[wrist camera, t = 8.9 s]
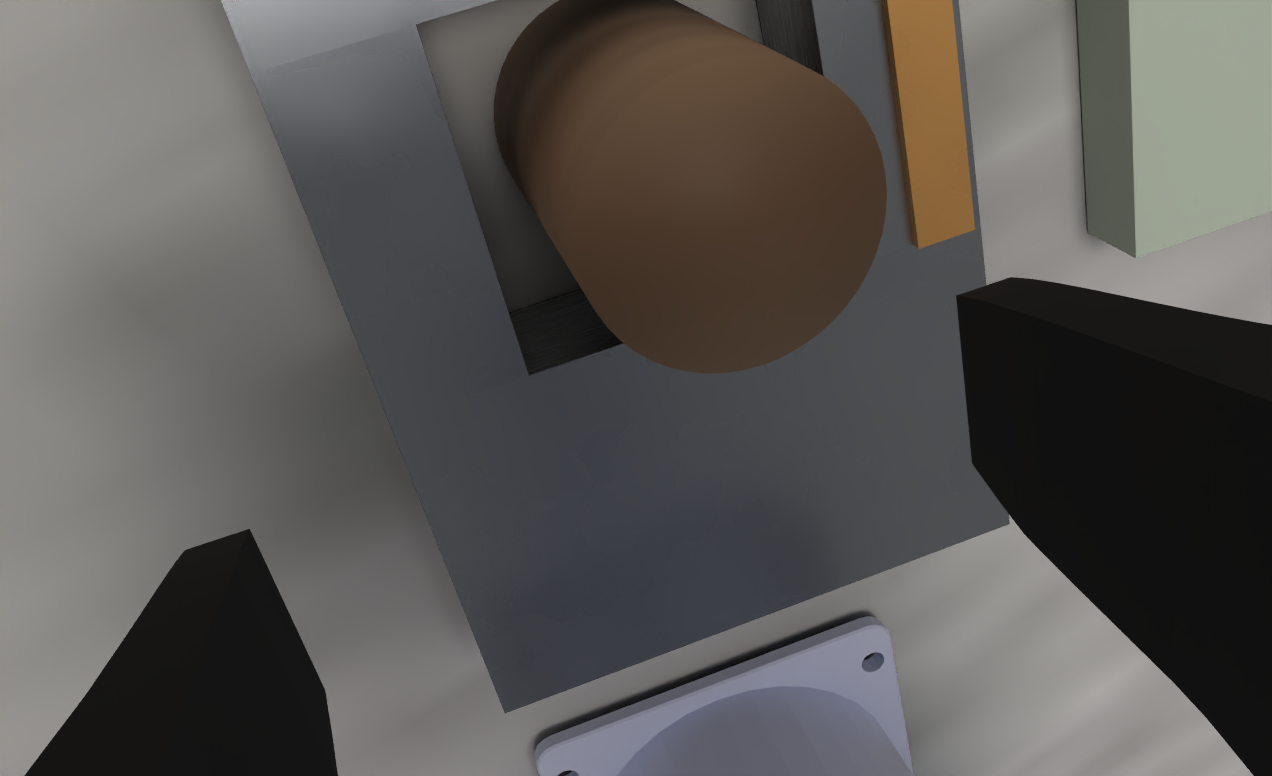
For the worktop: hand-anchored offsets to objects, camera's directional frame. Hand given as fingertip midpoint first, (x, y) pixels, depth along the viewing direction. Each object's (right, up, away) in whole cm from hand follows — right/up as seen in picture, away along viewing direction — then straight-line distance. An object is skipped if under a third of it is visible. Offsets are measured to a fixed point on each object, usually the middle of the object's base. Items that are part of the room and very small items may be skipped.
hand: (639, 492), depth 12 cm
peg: (0, +6, +8) cm, 10 cm away
